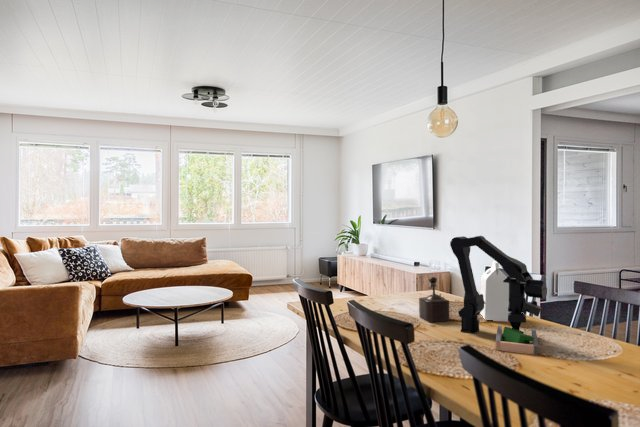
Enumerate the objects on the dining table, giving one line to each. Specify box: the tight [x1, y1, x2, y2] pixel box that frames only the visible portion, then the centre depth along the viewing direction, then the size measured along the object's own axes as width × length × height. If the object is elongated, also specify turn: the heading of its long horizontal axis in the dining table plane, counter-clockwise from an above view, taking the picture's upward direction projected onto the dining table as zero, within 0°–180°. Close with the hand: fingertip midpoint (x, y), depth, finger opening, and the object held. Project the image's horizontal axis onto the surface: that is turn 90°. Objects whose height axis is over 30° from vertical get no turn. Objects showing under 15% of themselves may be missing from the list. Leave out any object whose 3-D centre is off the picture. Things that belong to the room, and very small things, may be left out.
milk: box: [479, 260, 510, 323], centre depth 211 cm, size 12×12×26 cm
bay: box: [494, 325, 539, 356], centre depth 173 cm, size 14×24×3 cm, turn 157°
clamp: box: [501, 326, 534, 344], centre depth 169 cm, size 12×6×9 cm, turn 0°
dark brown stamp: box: [418, 276, 450, 323], centre depth 211 cm, size 16×11×18 cm
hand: (516, 334), depth 177 cm, fingers closed
